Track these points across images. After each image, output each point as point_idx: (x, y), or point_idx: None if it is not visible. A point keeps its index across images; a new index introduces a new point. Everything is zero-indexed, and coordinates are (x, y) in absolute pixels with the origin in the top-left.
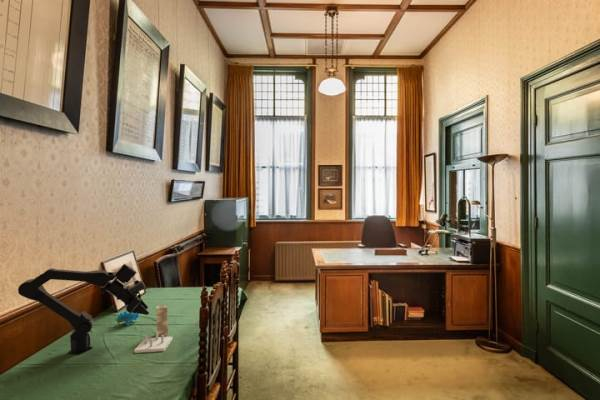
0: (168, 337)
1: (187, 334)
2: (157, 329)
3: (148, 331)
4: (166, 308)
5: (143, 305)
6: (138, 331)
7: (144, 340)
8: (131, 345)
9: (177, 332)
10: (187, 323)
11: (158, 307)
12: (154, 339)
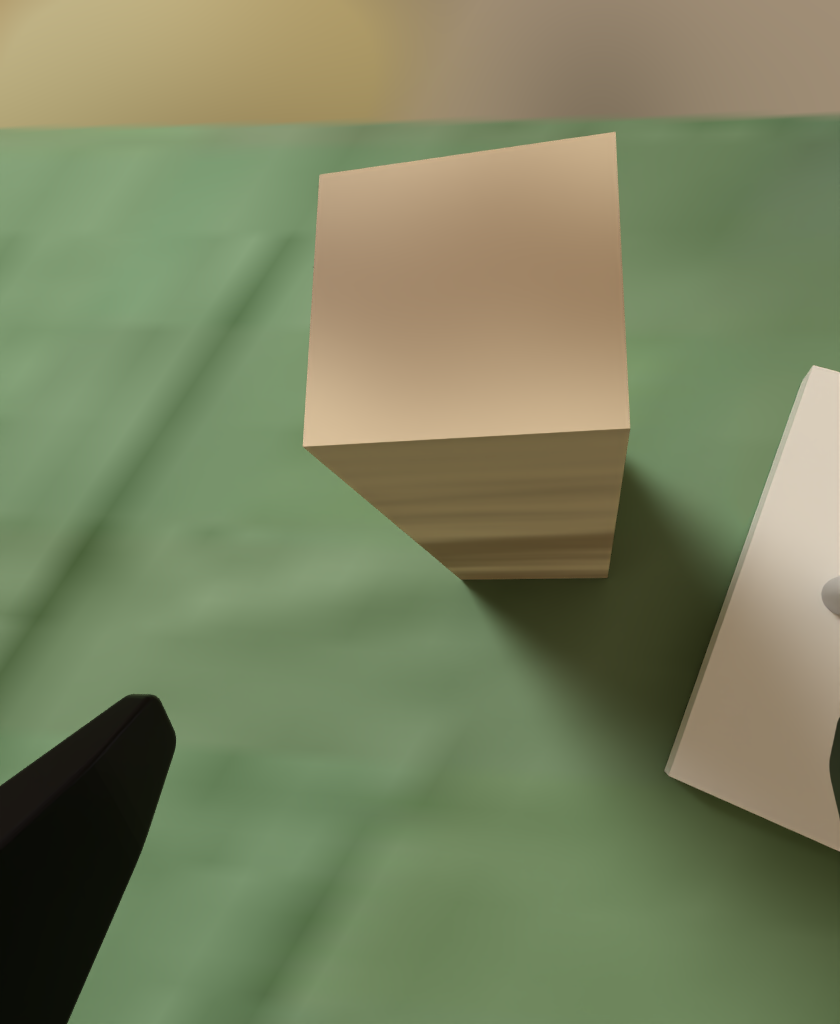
0: (835, 423)
1: (713, 195)
2: (562, 560)
3: (285, 692)
4: (613, 173)
5: (69, 861)
6: (198, 833)
7: (783, 796)
8: (768, 1007)
9: None
10: (293, 197)
11: (464, 380)
12: (819, 634)
